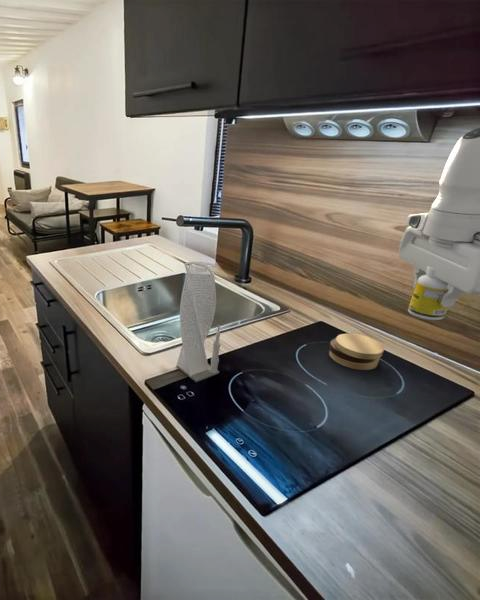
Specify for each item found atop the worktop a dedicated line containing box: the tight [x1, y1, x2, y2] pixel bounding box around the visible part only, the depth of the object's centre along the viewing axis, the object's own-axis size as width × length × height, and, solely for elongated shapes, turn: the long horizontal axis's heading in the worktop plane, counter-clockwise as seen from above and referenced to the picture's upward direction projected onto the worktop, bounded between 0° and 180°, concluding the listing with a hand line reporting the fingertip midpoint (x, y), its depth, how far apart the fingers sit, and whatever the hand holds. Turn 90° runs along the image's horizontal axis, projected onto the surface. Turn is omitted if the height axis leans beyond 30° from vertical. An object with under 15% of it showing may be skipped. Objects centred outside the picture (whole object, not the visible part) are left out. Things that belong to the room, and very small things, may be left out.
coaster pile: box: [328, 332, 385, 371], centre depth 87 cm, size 10×10×4 cm
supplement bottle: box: [407, 266, 449, 321], centre depth 69 cm, size 5×5×10 cm
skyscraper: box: [175, 261, 222, 383], centre depth 82 cm, size 8×8×28 cm
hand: (431, 297), depth 70 cm, fingers closed on supplement bottle, 5 cm apart
